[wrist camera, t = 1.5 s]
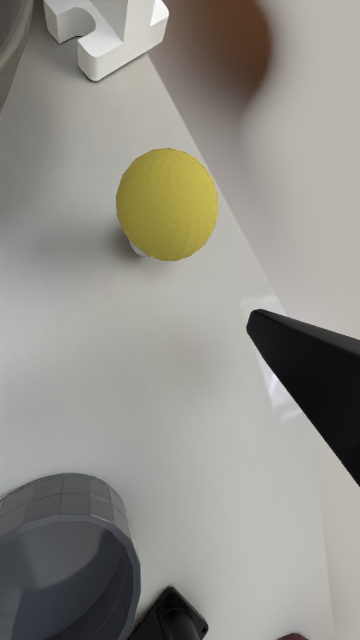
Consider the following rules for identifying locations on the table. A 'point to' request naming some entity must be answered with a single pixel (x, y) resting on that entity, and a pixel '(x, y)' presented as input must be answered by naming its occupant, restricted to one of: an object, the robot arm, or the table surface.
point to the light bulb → (166, 204)
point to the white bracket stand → (107, 30)
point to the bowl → (12, 39)
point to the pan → (67, 562)
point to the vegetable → (294, 637)
